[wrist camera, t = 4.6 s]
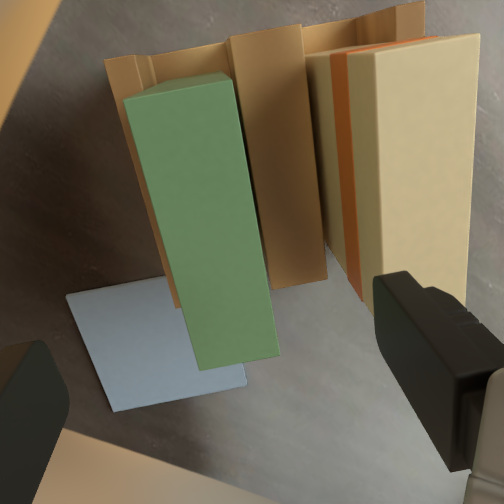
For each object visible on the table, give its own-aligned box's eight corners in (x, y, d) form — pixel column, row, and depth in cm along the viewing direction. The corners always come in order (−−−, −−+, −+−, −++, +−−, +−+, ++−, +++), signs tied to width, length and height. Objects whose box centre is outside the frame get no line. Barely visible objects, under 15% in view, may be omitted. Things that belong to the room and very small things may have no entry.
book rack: (182, 259, 32) (175, 309, 26) (129, 60, 26) (102, 59, 20) (381, 221, 32) (423, 261, 26) (373, 14, 26) (425, -1, 20)
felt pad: (114, 408, 37) (113, 412, 37) (66, 294, 32) (65, 296, 32) (247, 382, 37) (247, 386, 37) (220, 264, 32) (220, 266, 32)
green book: (203, 242, 30) (199, 371, 18) (165, 80, 26) (121, 99, 13) (251, 233, 30) (280, 356, 18) (221, 70, 26) (232, 78, 13)
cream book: (311, 222, 31) (383, 337, 18) (292, 56, 26) (371, 51, 13) (359, 213, 31) (466, 320, 18) (349, 45, 26) (483, 30, 13)
